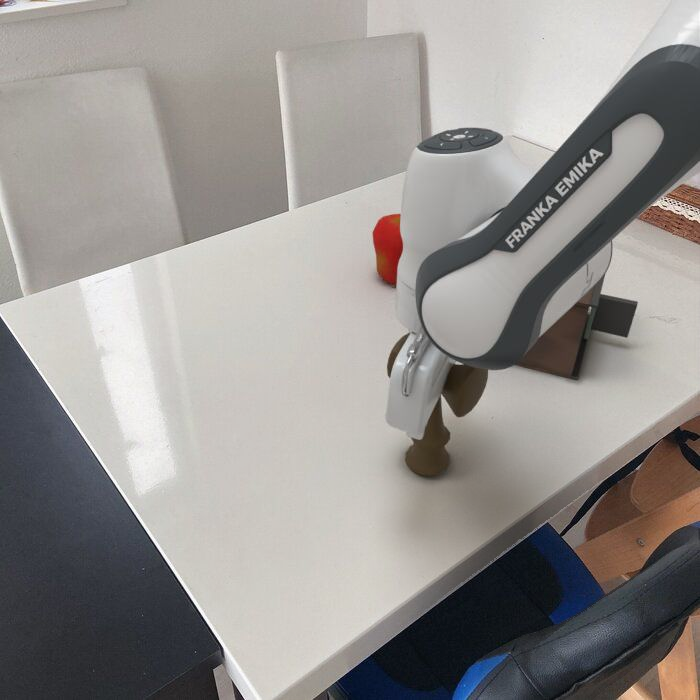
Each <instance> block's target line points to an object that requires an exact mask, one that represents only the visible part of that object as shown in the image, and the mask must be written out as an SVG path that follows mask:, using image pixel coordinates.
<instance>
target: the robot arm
mask: <svg viewBox="0 0 700 700" xmlns="http://www.w3.org/2000/svg"><path fill="white" fill-rule="evenodd" d="M699 174H700V0H670V1H669V3H668V5H666V7H665V9H664V10H663V12H662V13H661V14H660V16H659V18H658V19H657V20H656V22H655V23H654V24H653V26H652V28H651V29H650V30H649V32H648V33H647V35H645V38H644V39H643V40H642V41H641V43H640V44H639V46H638V47H637V48H636V49H635V51H634V52H633V54H632V55H631V56H630V58H629V59H628V61H626V63H625V65H624V67H623V68H622V69H621V70H620V72H619V73H618V75H617V76H616V77H615V79H614V80H613V82H612V83H611V84H610V86H609V87H608V88H607V90H606V91H605V93H604V94H603V95H602V97H601V98H600V99H599V100H598V102H597V104H596V105H595V106H594V108H593V109H592V110H591V112H590V113H588V115H587V116H586V117H585V118H584V119H583V120H582V121H581V123H579V125H578V126H577V127H576V128H575V129H574V131H572V133H571V134H570V135H569V136H568V138H567V139H566V140H565V141H564V142H563V143H562V144H561V145H560V146H559V148H558V149H557V150H556V151H555V152H554V153H553V154H552V155H551V157H550V158H549V159H548V160H547V161H546V162H545V163H544V164H543V165H542V166H541V167H540V168H539V170H538V171H537V172H536V171H534V170H533V169H532V168H531V167H530V166H528V165H527V164H526V163H525V162H524V161H523V160H521V158H520V157H519V156H518V155H517V154H516V152H515V151H514V149H513V147H512V146H511V144H510V142H509V141H508V139H507V138H506V137H505V136H504V135H503V134H502V133H499V132H498V131H495V130H493V129H489V128H484V127H459V128H455V129H447V130H443V131H441V132H438V133H436V134H433V135H432V136H429V137H428V138H426V139H424V140H422V141H421V142H419V144H417V145H416V146H415V147H414V149H413V151H412V153H411V155H410V157H409V160H408V163H407V168H406V172H405V177H404V182H403V189H402V196H401V205H400V206H401V207H400V214H401V218H400V233H401V237H402V241H403V252H402V255H401V257H400V260H399V263H398V269H397V285H395V286H396V289H395V304H394V312H395V313H394V314H395V316H396V317H395V318H397V320H398V322H399V323H400V324H401V325H402V326H403V327H404V328H405V329H407V331H408V333H410V335H409V337H408V338H407V340H406V342H405V344H404V345H403V347H402V349H401V350H400V352H399V354H398V355H397V357H396V360H395V362H394V365H393V368H392V372H391V377H390V378H389V384H388V392H387V398H386V407H385V408H386V409H385V421H386V424H388V426H389V427H391V428H394V429H397V430H398V431H403V432H405V434H406V436H408V437H409V438H415V439H418V440H421V439H422V438H423V436H424V434H425V432H426V430H427V423H428V420H429V418H430V415H431V413H432V411H433V409H434V407H435V405H436V403H437V401H438V399H439V397H440V395H441V396H442V394H441V392H442V390H443V388H444V386H445V383H446V379H447V376H448V374H449V371H450V369H451V367H452V366H453V365H454V364H457V363H459V364H465V365H468V366H471V367H475V368H480V369H486V370H488V371H502V370H506V369H509V368H511V367H514V366H516V365H515V364H516V363H517V362H519V361H520V360H521V358H522V357H523V356H524V355H525V354H526V353H527V352H528V351H529V350H530V348H531V347H532V346H533V345H534V344H535V343H536V341H537V340H538V338H539V337H540V336H541V335H542V334H544V333H545V332H546V331H547V330H548V329H549V328H550V327H551V326H552V325H553V324H554V323H555V322H556V321H557V320H559V319H560V318H561V317H562V316H563V315H564V314H565V313H566V312H567V311H568V310H569V309H570V308H571V307H572V306H574V304H575V303H576V302H578V301H579V300H580V299H581V298H582V297H583V296H584V295H585V294H586V293H587V292H588V291H589V290H590V289H591V288H592V287H593V286H594V285H595V284H596V283H597V282H598V281H599V280H600V279H601V278H602V277H603V276H604V275H605V276H606V274H605V273H607V271H608V270H609V268H610V265H611V262H612V259H613V257H612V256H613V250H614V249H613V240H614V239H615V238H617V236H619V235H620V234H621V233H623V231H624V230H625V229H626V228H628V226H630V225H631V224H632V223H633V222H634V221H635V220H636V219H637V218H639V217H640V216H641V215H642V214H643V213H644V212H646V211H647V210H648V209H649V208H650V207H652V206H653V205H654V204H656V203H657V202H658V201H660V200H661V199H662V198H664V197H665V196H667V195H668V194H670V193H671V192H672V191H674V190H675V189H677V188H678V187H680V186H681V185H683V184H684V183H686V182H688V181H689V180H691V179H693V178H694V177H695V176H697V175H699Z"/></svg>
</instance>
